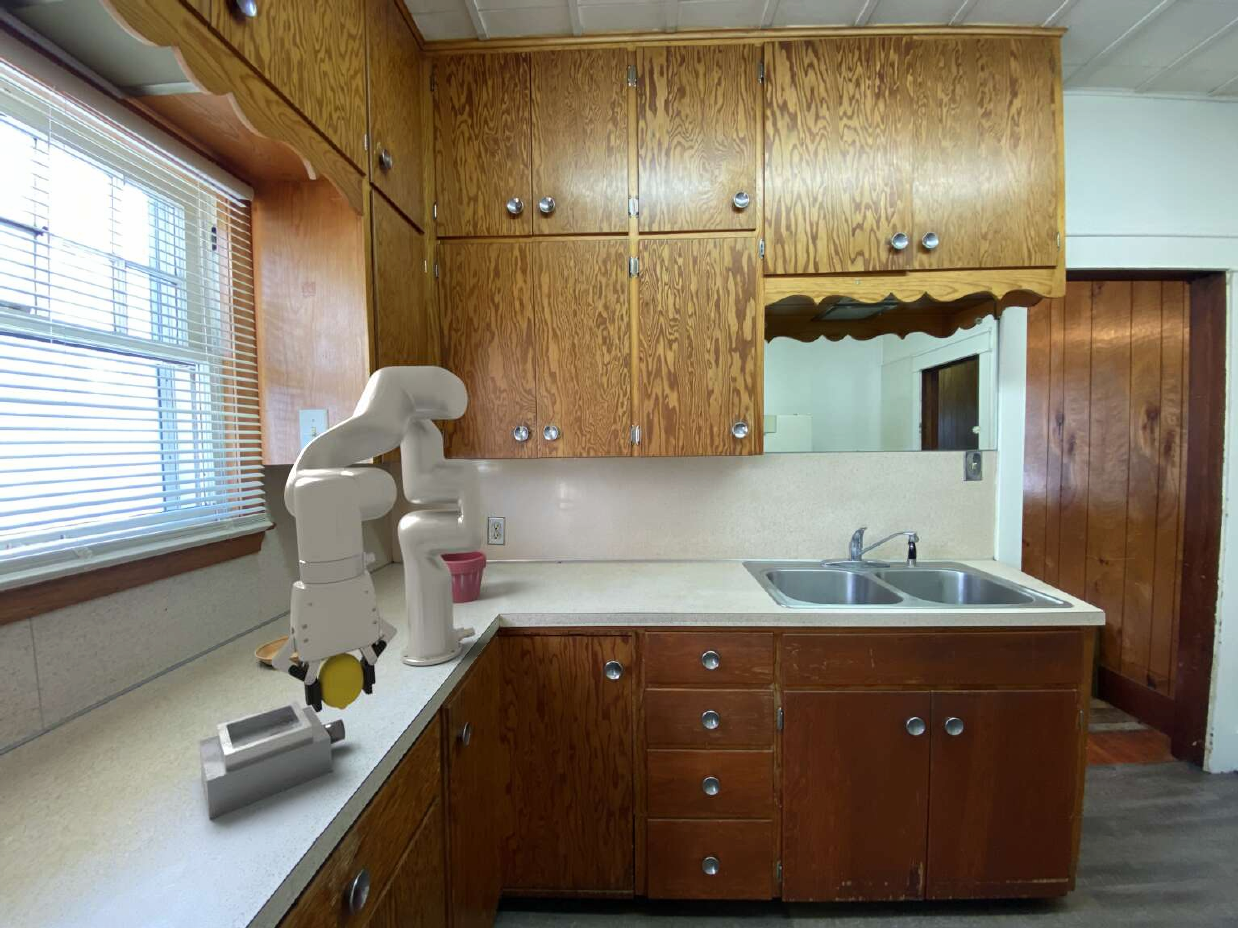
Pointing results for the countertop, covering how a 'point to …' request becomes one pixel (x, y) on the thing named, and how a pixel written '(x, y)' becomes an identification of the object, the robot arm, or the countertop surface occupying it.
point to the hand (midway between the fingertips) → (342, 697)
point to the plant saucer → (274, 651)
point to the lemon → (341, 680)
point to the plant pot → (465, 574)
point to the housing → (265, 755)
